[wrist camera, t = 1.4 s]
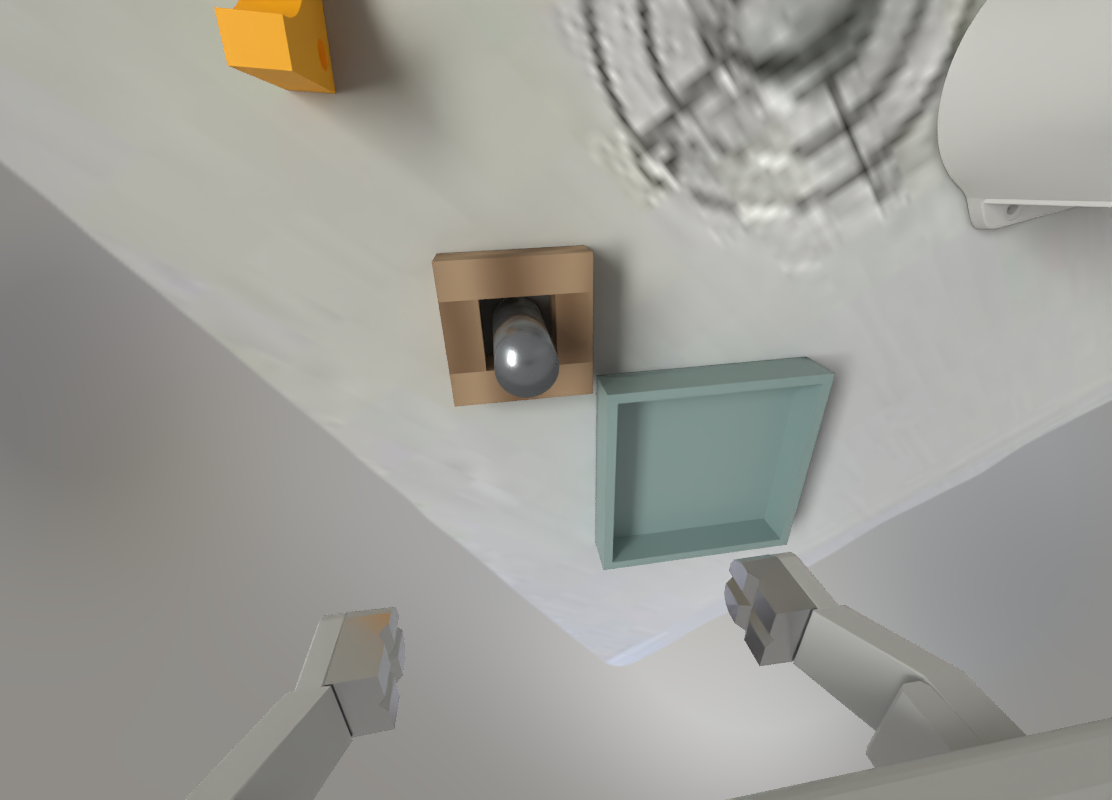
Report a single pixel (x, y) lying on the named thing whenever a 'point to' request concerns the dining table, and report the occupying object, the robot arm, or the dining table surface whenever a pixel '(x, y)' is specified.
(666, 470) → the tray
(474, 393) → the pin holder
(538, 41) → the dining table surface
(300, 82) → the pipe clamp
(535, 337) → the pin
